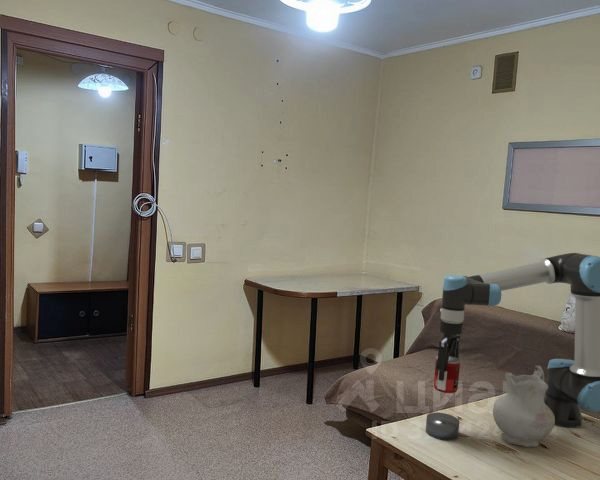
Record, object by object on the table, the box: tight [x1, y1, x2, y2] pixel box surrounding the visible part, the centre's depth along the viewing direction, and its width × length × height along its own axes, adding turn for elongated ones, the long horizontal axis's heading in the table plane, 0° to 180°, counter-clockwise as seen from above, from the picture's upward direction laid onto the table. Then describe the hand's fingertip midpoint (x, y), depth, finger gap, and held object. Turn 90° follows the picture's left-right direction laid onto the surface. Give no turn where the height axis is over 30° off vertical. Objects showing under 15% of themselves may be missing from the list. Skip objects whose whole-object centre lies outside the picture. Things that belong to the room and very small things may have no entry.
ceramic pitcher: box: [492, 364, 555, 448], centre depth 178 cm, size 22×20×25 cm
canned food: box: [433, 355, 461, 394], centre depth 177 cm, size 8×8×11 cm
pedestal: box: [425, 412, 460, 442], centre depth 179 cm, size 11×11×5 cm
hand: (445, 386), depth 178 cm, fingers closed on canned food, 8 cm apart
